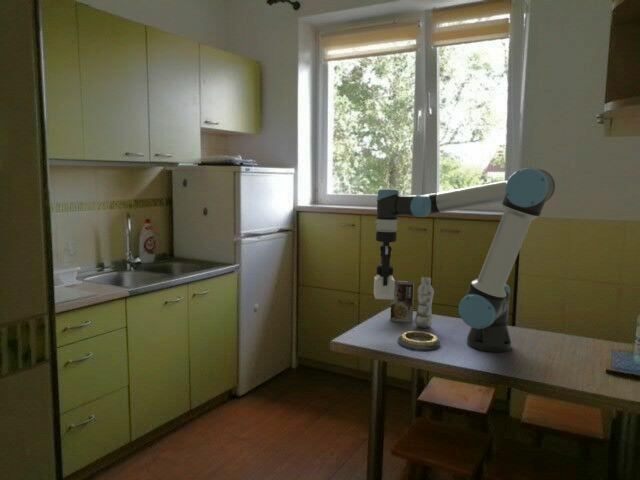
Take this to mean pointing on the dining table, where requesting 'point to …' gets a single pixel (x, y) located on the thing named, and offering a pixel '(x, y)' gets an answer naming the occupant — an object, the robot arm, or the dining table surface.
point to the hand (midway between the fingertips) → (384, 291)
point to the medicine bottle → (378, 284)
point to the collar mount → (419, 341)
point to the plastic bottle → (424, 303)
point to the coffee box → (402, 302)
